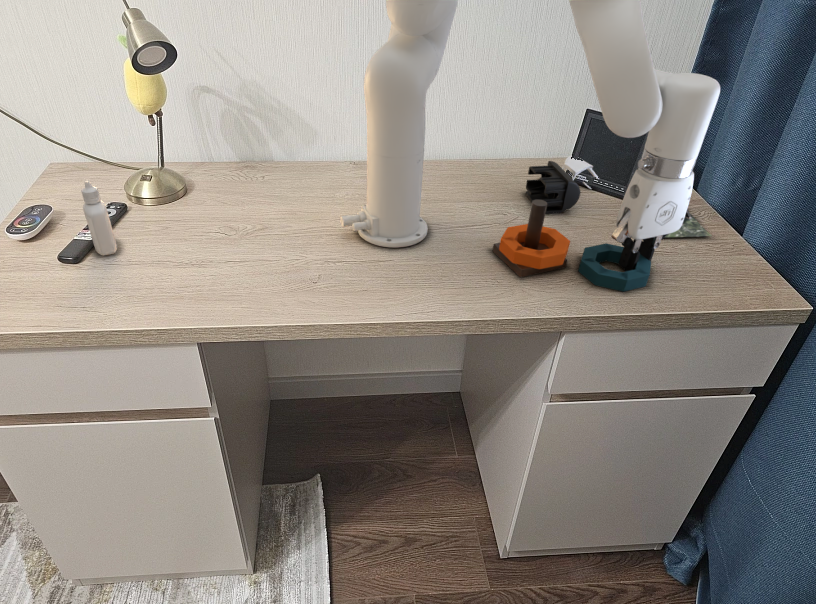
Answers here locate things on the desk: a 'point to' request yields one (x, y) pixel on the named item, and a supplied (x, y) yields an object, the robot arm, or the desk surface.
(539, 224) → the peg stand
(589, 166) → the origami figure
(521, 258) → the orange ring
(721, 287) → the desk surface
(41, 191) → the desk surface
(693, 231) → the eiffel tower figurine
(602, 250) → the teal ring
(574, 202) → the end cap
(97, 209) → the eye dropper bottle
